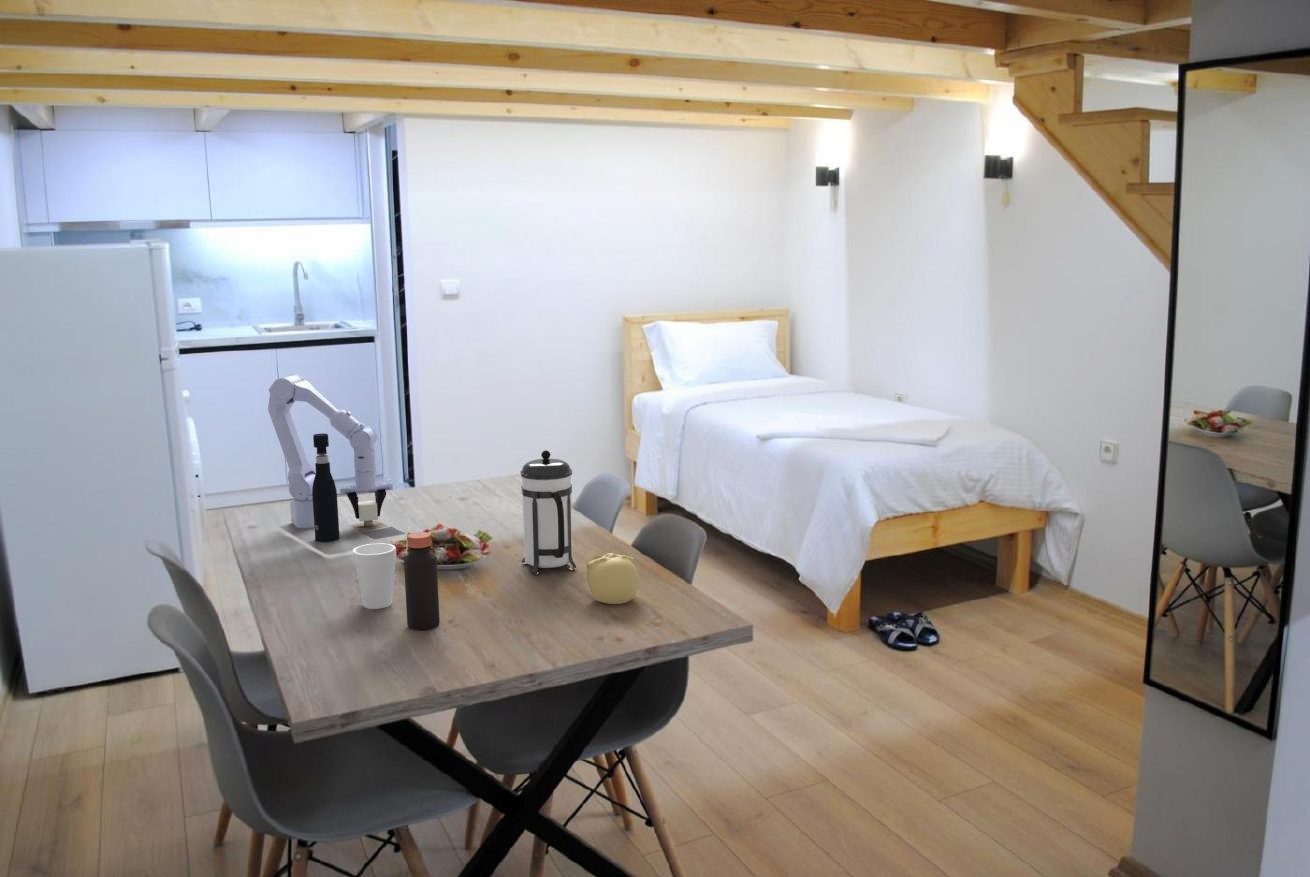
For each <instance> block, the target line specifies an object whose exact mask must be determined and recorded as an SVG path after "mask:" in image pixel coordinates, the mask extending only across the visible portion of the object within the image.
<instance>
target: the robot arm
mask: <svg viewBox="0 0 1310 877" xmlns="http://www.w3.org/2000/svg"><path fill="white" fill-rule="evenodd" d="M268 392H269V399H268V407H267V412H268V414H269V416H270V419H271V422H272V425H273V427H274V430H275V431H274V432H275V434H276V436H277V438H278V441H279V444H280V447H281V450H282V452H283V455H284V458H285V461H286V463H287V466H288V474H287V479H288V492H289V494H290V496H291V497H292V500H291V502H290V504H289V507H290V520H291V524H293V526H295V528H298V529H313V528H314V513H313V499H312V487H313V482H314V478H315V474H316V468H315V466H313V465H312V464H311V463H310V462H309V461H308V459H307V456H306V453H305V451H304V448H303V445H302V441H301V439H300V436H299V433H298V431H297V428H296V426H295V422H294V420H293V417H292V415H291V411H290V410H291V409H292V407H293V405H294V403H295V402H303V403H305V402H306V403H307V404H309V405H310V406H312V407H313V408H315V410H317V411H318V412H320V413H321V414H323V415H324V416H325V417H326V418H328V419H329V422H330V424H329V425H330V426H331V427H333V429H334V430H336V431H337V432H339V433H340V435H342V436H344V437H345V439H347V440H348V441H349V445H350V446H351V448H352V450H353V463H354V479H355V480H354V481H355V484H351V485H347V486H339V495H340V496H345V495H346V496H347V498H348V500H349V502H350V504H351V507H352V509H353V512H354V517H355V518H356V520H359V510H358V502H359V496H358V494H360V493H361V494H362V493H370V492H374V499H375V501H376V503H377V513H378V517H381V511H382V506H383V503H384V500H385V498H386V496H387V491H393V490H394V489H393V488H394V486H393V482H390V481H389V482H377V472H376V470H377V469H376V455H375V454H376V453H375V445H374V444H375V443H376V441H377V439H378V437H377V432H376V431H375V430H374V429H373V428H372V427H371V426H367V425H366V424H364V423H363V422H360V421H359V420H357V418H355V417H354V416H352V414H353V413H352V412H351V411H350V410H348V411H346V409H338V408H336V407H335V406H334V405H333V404H332V403H331V402H330V401H329V400H328V399H327V398H325V396H323V395H322V394H321V393H320V392H319V391H318V390H317V389H316V388H314V386H313V385H312V384H311V383H310V382H309V381H308V380H307V379H305V378H303V376H301V375H300V374H296V373H294V374H293V373H292V374H290V375H288V376H285V377H280V378H277V379H275V380H274V381H273V383H272V384H271V385H270V387H269V388H268ZM365 425H366V426H365Z"/></svg>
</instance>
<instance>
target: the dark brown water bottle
mask: <svg viewBox="0 0 1310 877" xmlns="http://www.w3.org/2000/svg"><path fill="white" fill-rule="evenodd" d="M406 536H407V537H406V538H407V539H406V540H407V541H406V542H407V549H408V550H409V552H408V553H407V554H406V556H405V557H404V558H403V569H404V570H403V571H404V585H405V586H404V588H405V591H404V592H405V604H406V606H405V607H406V608H405V609H406V621H407V622H406V623H407V624H406V625H407V627H408V628H409V629H411V630H414V631H428V630H432V629H434V628H437V627H438V626H439V625H440V622H441V620H440V604H439V602H440V600H439V599H440V598H439V581H438V578H439V577H438V559H437V556H436V554H435V553H434V552H432V550H431V548H432V533H430V532H425V531H424V532H423V531H418V532H417V531H415V532H412V533H409V534H408V535H406Z"/></svg>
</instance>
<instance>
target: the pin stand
mask: <svg viewBox="0 0 1310 877" xmlns="http://www.w3.org/2000/svg"><path fill="white" fill-rule="evenodd" d="M349 526H350V527H351V528H354V529H356V530H359V531H360V532H365V531H370V530H376V529H381V528H387V525H386V524H384V523H382V522H380V521H379V520H370V521H363V522H359V523H354V524H349Z"/></svg>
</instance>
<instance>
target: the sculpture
mask: <svg viewBox="0 0 1310 877" xmlns="http://www.w3.org/2000/svg"><path fill="white" fill-rule="evenodd" d="M634 561H635V558H634V557H632V556H628V555H625V554H623V555H621V554H616V553H613V552H607V553H605V554H603V555H602V556H600V557H598V558H596V559H593V560H591V561H589V562H587V564H586V570H587V571H586V577H587V579H586V580H587V585H588V587H589V592H590V593H591V595H592V597H593V599H594V600H596V601H597V602H599V603H603V604H609V605H623V604H626V603H629V602H631V601H632V600H633V599H634V598H636V596H637V594H638V592H639V589H640V575H639V572H638V569H637V568H636V566H635V565H634ZM628 601H629V602H628ZM622 603H623V604H622Z"/></svg>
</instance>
